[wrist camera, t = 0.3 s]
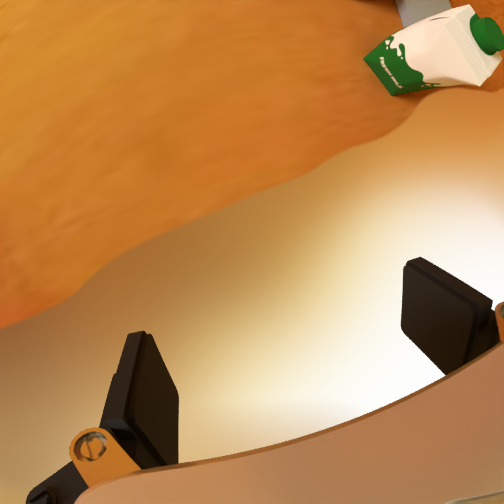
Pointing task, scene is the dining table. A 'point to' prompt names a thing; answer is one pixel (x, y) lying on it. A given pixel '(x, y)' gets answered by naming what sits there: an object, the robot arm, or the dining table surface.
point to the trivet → (420, 9)
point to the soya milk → (439, 52)
